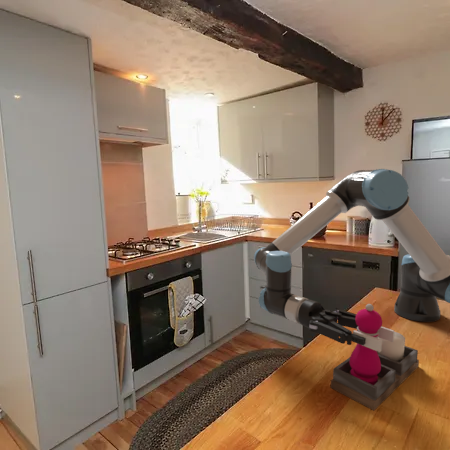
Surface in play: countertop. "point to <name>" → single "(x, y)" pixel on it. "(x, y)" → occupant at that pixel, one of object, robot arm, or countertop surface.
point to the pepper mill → (363, 356)
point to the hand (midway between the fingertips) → (387, 341)
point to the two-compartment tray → (387, 379)
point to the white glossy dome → (393, 348)
